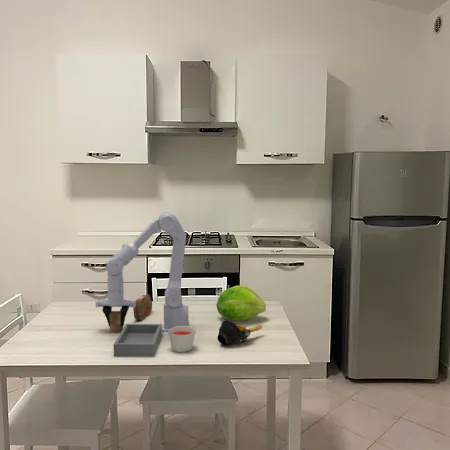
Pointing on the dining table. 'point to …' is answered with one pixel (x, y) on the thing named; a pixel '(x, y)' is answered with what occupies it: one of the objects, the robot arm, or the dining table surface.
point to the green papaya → (240, 303)
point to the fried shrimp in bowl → (234, 333)
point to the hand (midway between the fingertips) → (116, 325)
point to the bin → (138, 340)
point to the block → (115, 322)
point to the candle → (181, 338)
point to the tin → (143, 307)
